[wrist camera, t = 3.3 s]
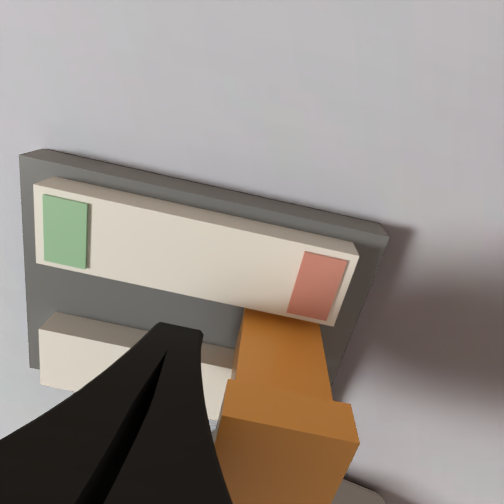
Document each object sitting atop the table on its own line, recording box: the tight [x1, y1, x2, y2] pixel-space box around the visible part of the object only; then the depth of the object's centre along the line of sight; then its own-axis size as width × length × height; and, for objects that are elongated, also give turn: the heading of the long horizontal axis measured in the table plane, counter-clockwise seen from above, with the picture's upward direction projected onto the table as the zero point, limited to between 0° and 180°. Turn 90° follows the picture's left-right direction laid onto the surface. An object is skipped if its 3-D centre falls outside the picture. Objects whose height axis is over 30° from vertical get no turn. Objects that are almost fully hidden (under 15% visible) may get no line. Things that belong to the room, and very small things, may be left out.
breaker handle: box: [213, 308, 360, 504], centre depth 10 cm, size 3×3×5 cm
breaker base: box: [19, 149, 390, 421], centre depth 12 cm, size 8×11×2 cm
